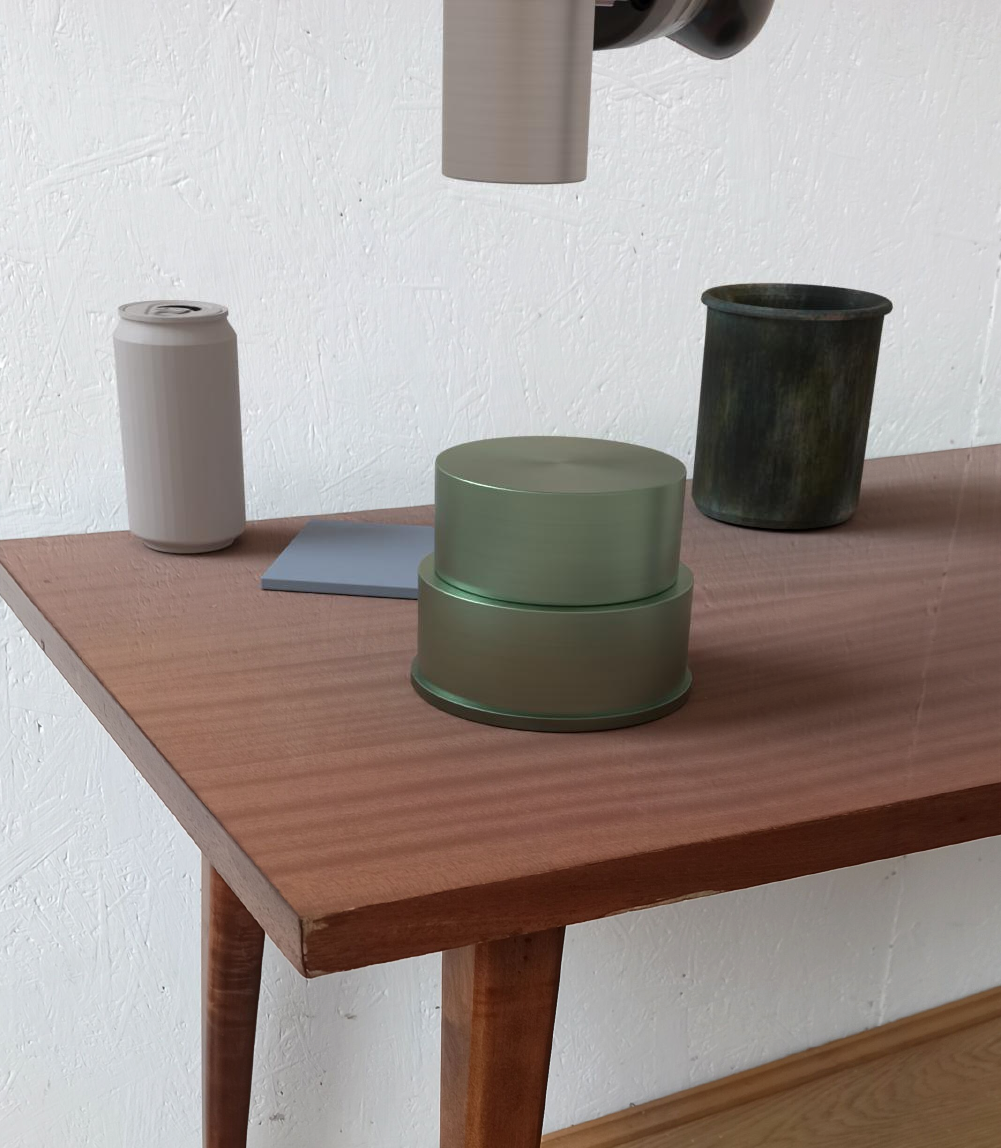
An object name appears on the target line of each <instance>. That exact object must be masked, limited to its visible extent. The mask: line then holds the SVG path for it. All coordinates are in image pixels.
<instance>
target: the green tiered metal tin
mask: <svg viewBox="0 0 1001 1148" xmlns="http://www.w3.org/2000/svg"><path fill="white" fill-rule="evenodd" d="M687 471H688V470H687V466H686V465H685V464H684V462H682V461H681V460H679V459H678V458H677V457H675V456H673V455H671V454H669V453H666V452H663V451H660V450H657V449H655V448H652V447H647V446H643V445H639V444H634V443H630V442H624V441H618V440H617V441H616V440H610V439H602V438H594V437H581V436H568V435H567V436H566V435H565V436H563V435H522V436H521V435H520V436H502V437H494V438H484V439H478V440H473V441H469V442H463V443H460V444H456V445H454V446H451V447H449V448H446V449H444V450H443V451H441V452H439V454H438V455H436V457H435V460H434V507H433V508H434V513H433V515H434V516H433V519H434V521H433V522H434V523H433V526H434V551H433V552H431V553H429V554H428V555H427V556H425V557H424V558H423V559H422V560H421V562H420V564H419V566H418V599H417V653H416V655H415V657H414V658H413V659H412V661H411V665H410V683H411V686H412V688H413V690H414V691H415V692H416V693H417V695H418V696H419V698H421V699H423V700H424V701H425V702H427V703H428V704H430V705H432V706H433V707H435V708H437V709H439V710H441V711H444V712H445V713H448V714H450V715H452V716H455V717H459V718H463V719H465V720H469V721H474V722H477V723H481V724H485V725H491V726H495V727H501V728H508V729H514V730H522V731H523V730H524V731H535V732H550V733H553V732H554V733H578V732H581V733H582V732H597V731H607V730H614V729H621V728H627V727H632V726H637V725H641V724H645V723H648V722H652V721H655V720H658V719H661V718H663V717H665V716H667V715H670V714H671V713H674V712H675V711H677V710H678V709H680V708H681V707H682V706H683V705H684V704H685V703H686V702H687V701H688V699H689V698H690V695H691V692H692V685H693V675H692V672H691V670H690V668H689V666H688V655H689V642H690V632H691V631H690V629H691V618H692V609H693V608H692V607H693V596H694V585H695V578H694V574H693V572H692V570H691V569H690V567H689V566H687V565H686V564H685V563H684V562H682V560H681V559H680V557H681V547H682V536H683V535H682V534H683V524H684V510H685V499H686V498H685V497H686V486H687V475H688V472H687ZM680 560H681V561H680Z"/></svg>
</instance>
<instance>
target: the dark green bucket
mask: <svg viewBox="0 0 1001 1148" xmlns="http://www.w3.org/2000/svg"><path fill="white" fill-rule="evenodd" d="M700 301H701V303H702V305H705V306H706V319H705V332H704V344H703V354H702V355H703V357H702V365H701V367H702V368H701V377H700V378H701V379H700V389H699V401H698V413H697V427H696V436H695V437H696V439H695V448H694V449H695V450H694V461H693V463H694V464H693V474H692V484H691V493H690V494H691V495H690V496H691V499H692V500H693V501H692V502H693V503H694V505H695V507H696V509H697V510H698V511H699V512H700V513H702V514H704V516H705V515H706V516H708V517H710V518H712V519H716V520H718V521H722V522H726V523H731V524H734V525H740V526H746V527H747V526H748V527H753V528H754V527H755V528H762V529H763V528H764V529H778V530H803V529H817V528H824V527H830V526H835V525H838V524H842V523H844V522H846V521H848V520H849V519H850V518H851V517H852V516H853V514H854V513H855V512H856V510H857V509H858V507H859V503H860V502H859V501H860V495H861V487H862V482H863V481H862V480H863V474H864V473H863V472H864V465H865V459H866V452H867V445H868V444H867V443H868V437H869V429H870V423H871V422H870V421H871V414H872V408H873V399H874V394H875V393H874V392H875V387H876V386H875V385H876V378H877V371H878V364H879V356H880V349H881V341H882V334H883V327H884V322H885V316H887V315H889V314H891V313H892V311H893V309H894V306H893V302H892V301H891V300H890V299H889V298H888V297H886V296H884V295H881V294H877V293H874V292H869V291H866V290H860V289H854V288H847V287H841V286H833V285H831V286H830V285H821V284H820V285H819V284H810V283H809V284H808V283H788V282H787V283H786V282H751V283H733V284H724V285H718V286H713V287H710V288H708V289H706V290H704V291H703V292H702V293H701V296H700Z"/></svg>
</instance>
